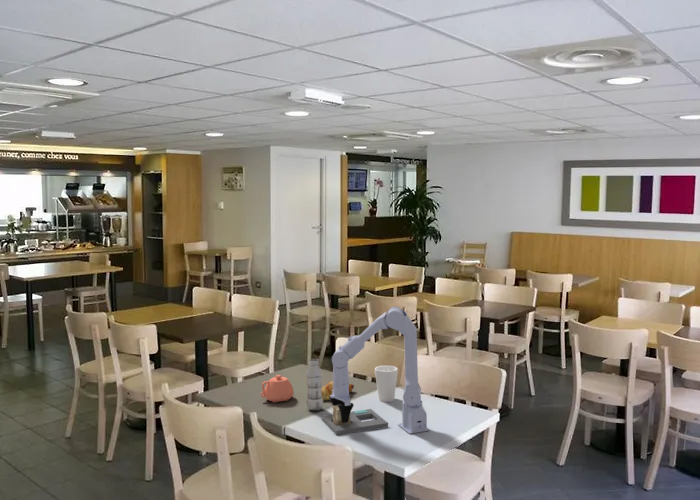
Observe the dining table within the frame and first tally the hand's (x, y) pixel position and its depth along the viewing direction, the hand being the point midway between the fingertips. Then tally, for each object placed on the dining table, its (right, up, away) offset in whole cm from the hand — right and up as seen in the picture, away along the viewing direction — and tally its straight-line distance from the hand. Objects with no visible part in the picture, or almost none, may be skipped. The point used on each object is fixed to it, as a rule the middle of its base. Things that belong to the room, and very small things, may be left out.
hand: (341, 418), depth 223 cm
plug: (0, -3, 0) cm, 2 cm away
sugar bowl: (-27, -1, +30) cm, 41 cm away
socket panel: (+5, -2, +2) cm, 6 cm away
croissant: (-4, 0, +34) cm, 34 cm away
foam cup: (+18, 0, +28) cm, 34 cm away
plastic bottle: (-11, -1, +17) cm, 21 cm away
